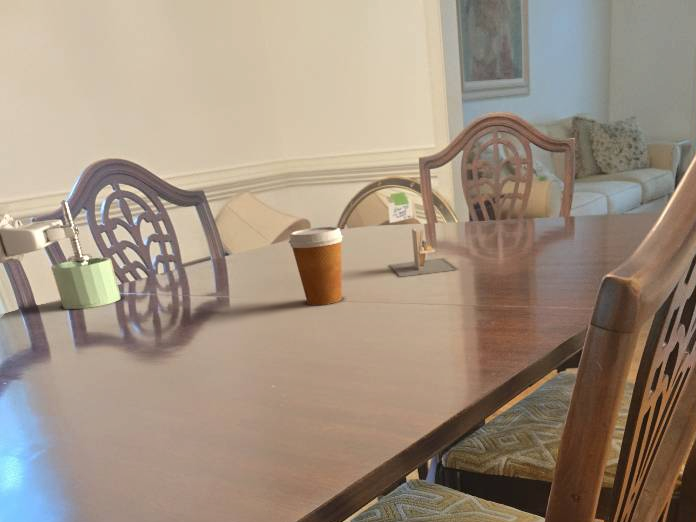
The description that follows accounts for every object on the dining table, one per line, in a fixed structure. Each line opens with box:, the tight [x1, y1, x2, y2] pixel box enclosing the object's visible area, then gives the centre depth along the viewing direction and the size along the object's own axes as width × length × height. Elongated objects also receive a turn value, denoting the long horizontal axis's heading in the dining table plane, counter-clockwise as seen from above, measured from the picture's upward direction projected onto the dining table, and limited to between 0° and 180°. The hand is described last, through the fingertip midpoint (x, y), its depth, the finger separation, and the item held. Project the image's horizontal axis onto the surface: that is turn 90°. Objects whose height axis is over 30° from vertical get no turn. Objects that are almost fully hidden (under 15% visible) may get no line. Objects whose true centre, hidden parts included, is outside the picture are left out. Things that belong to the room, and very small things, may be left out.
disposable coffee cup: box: [288, 226, 343, 306], centre depth 137 cm, size 10×10×12 cm
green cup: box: [50, 256, 122, 310], centre depth 159 cm, size 12×12×8 cm
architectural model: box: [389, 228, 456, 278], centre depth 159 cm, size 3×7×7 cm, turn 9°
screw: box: [60, 199, 93, 267], centre depth 155 cm, size 13×5×5 cm
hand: (76, 230), depth 154 cm, fingers closed on screw, 2 cm apart
